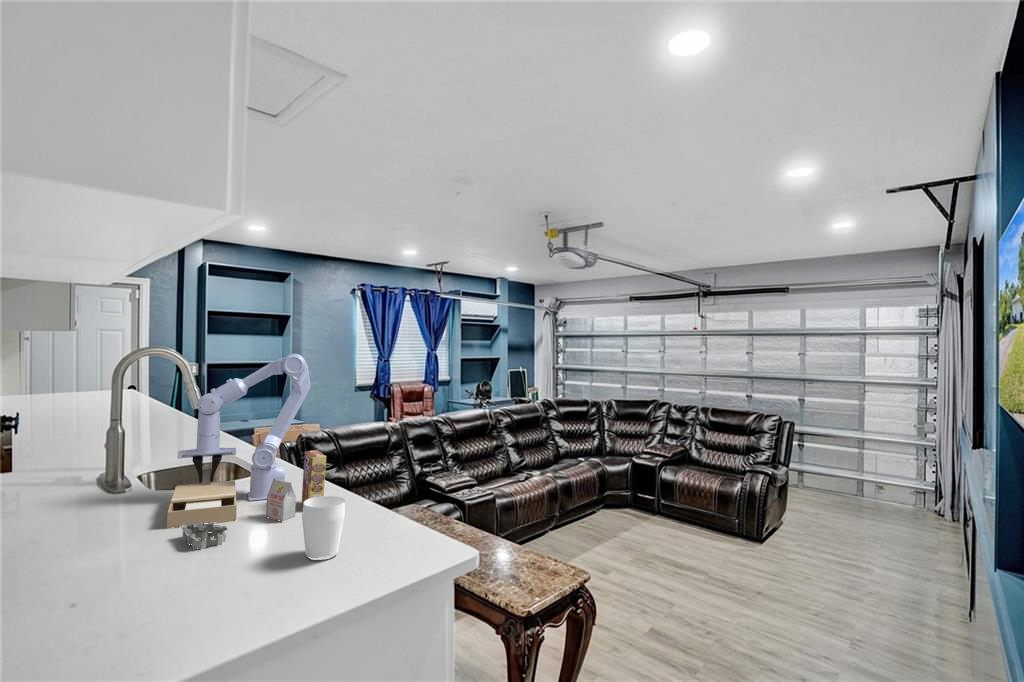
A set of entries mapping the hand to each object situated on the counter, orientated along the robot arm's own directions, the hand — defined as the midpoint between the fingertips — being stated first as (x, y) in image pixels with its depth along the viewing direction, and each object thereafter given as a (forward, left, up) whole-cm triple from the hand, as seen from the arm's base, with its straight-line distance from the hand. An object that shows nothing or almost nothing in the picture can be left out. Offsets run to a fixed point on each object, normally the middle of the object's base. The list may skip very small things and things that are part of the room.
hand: (206, 481), depth 148 cm
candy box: (-27, +17, -6) cm, 32 cm away
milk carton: (-18, +24, -6) cm, 31 cm away
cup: (-24, +53, -6) cm, 58 cm away
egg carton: (-1, +34, -6) cm, 35 cm away
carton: (0, +14, -5) cm, 15 cm away
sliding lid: (0, +7, -1) cm, 7 cm away
